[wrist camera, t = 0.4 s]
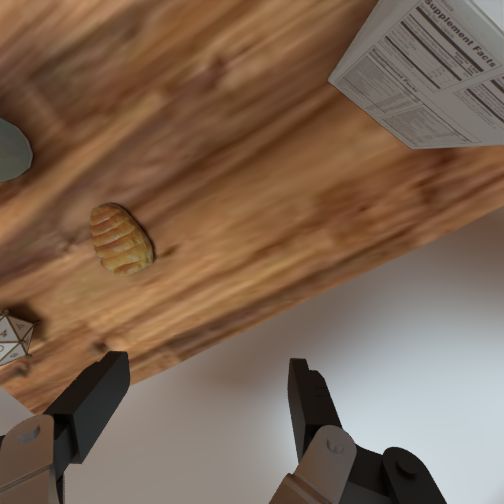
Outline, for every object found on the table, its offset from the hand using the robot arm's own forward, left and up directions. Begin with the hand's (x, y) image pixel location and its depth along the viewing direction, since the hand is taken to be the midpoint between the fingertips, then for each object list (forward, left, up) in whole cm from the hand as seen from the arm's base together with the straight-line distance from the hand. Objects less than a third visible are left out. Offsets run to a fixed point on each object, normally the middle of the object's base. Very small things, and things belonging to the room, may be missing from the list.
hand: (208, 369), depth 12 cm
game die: (+27, -24, -23) cm, 43 cm away
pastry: (+8, -13, -23) cm, 28 cm away
